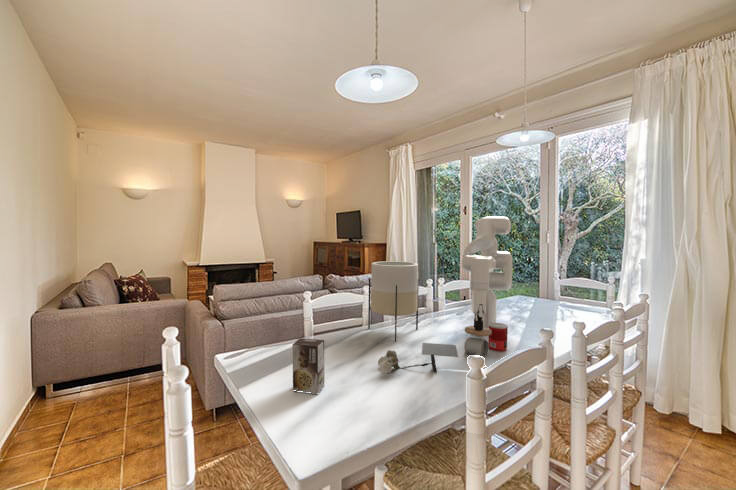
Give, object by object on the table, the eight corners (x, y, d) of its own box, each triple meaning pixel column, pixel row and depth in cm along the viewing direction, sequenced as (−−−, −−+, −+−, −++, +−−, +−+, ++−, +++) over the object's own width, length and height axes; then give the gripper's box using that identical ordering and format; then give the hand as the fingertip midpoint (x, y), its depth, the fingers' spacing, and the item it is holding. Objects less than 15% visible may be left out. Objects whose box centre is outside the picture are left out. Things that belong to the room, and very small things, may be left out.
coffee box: (325, 386, 116) (325, 339, 116) (318, 395, 110) (318, 346, 109) (300, 383, 119) (300, 337, 118) (291, 392, 112) (291, 343, 112)
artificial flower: (438, 380, 126) (436, 357, 123) (378, 382, 129) (374, 360, 126) (436, 364, 134) (434, 342, 131) (379, 367, 138) (376, 345, 135)
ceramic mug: (471, 350, 153) (471, 333, 152) (489, 355, 147) (489, 337, 146) (459, 357, 145) (459, 339, 145) (477, 362, 139) (477, 344, 139)
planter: (410, 345, 159) (412, 267, 157) (356, 338, 168) (357, 264, 166) (420, 329, 184) (422, 262, 182) (373, 324, 193) (374, 260, 191)
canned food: (508, 352, 151) (509, 327, 150) (489, 351, 152) (490, 326, 152) (505, 346, 158) (505, 323, 158) (487, 345, 160) (487, 322, 159)
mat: (422, 344, 161) (422, 342, 161) (455, 346, 158) (455, 345, 158) (421, 355, 146) (421, 354, 146) (458, 358, 143) (458, 356, 143)
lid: (463, 327, 153) (463, 313, 153) (489, 329, 151) (489, 314, 151) (466, 335, 142) (466, 319, 142) (494, 336, 140) (494, 320, 140)
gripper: (468, 282, 154) (467, 323, 155) (472, 289, 138) (471, 334, 139) (485, 283, 153) (484, 324, 154) (492, 289, 137) (490, 335, 138)
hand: (478, 328), depth 147 cm, fingers closed on lid, 2 cm apart
